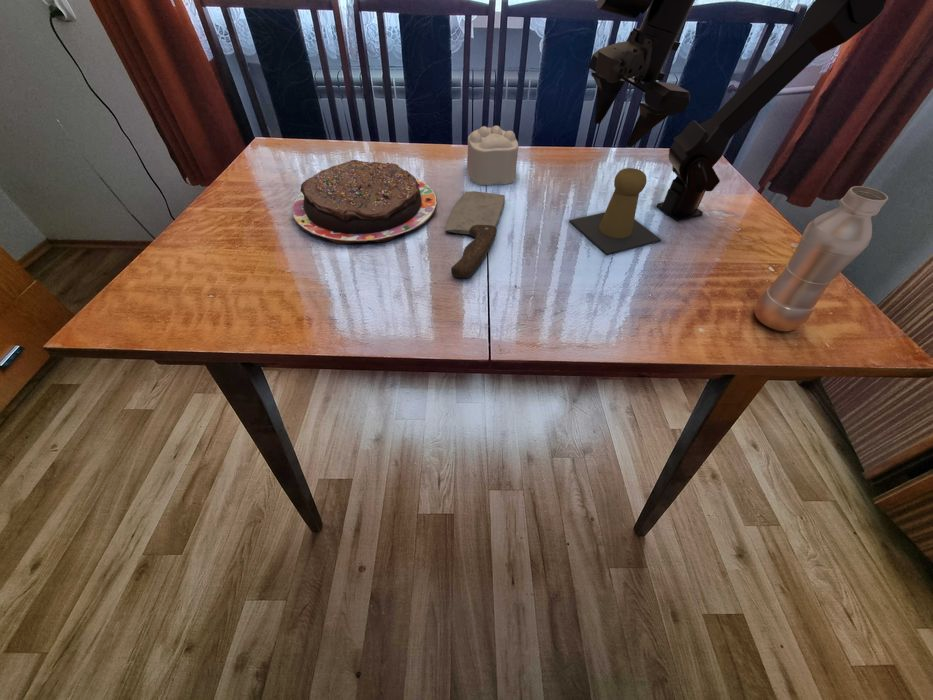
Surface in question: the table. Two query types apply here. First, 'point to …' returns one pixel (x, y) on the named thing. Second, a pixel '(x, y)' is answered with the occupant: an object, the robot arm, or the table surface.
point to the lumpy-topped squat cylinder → (492, 156)
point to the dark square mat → (609, 244)
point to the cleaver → (475, 227)
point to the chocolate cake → (363, 202)
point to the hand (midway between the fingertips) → (612, 134)
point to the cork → (623, 203)
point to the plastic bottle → (820, 259)
